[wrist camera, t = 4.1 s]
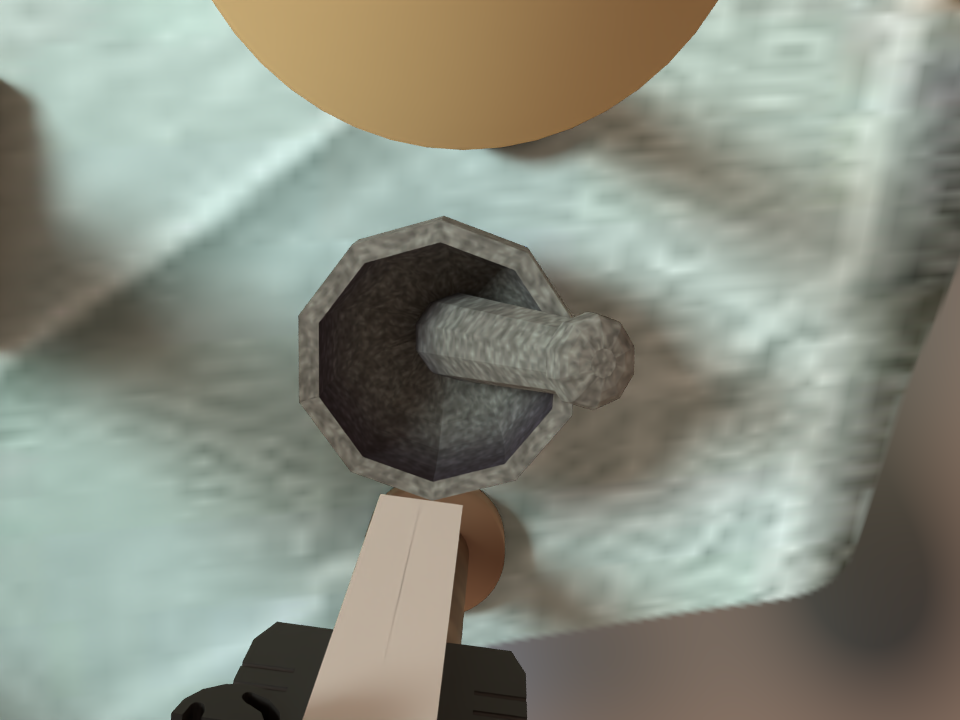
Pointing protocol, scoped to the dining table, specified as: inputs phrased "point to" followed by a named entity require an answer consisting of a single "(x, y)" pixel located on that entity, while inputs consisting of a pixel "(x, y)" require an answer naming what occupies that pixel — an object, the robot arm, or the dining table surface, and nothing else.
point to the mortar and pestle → (449, 359)
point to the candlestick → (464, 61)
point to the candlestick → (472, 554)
